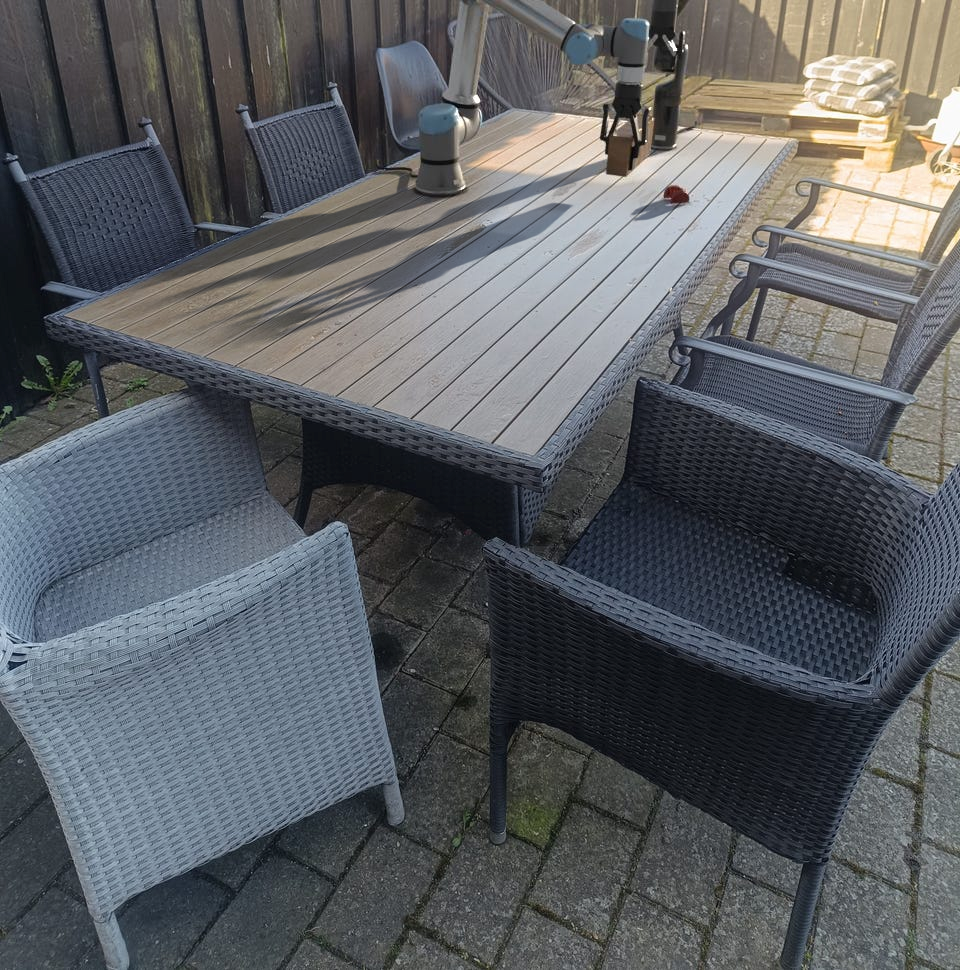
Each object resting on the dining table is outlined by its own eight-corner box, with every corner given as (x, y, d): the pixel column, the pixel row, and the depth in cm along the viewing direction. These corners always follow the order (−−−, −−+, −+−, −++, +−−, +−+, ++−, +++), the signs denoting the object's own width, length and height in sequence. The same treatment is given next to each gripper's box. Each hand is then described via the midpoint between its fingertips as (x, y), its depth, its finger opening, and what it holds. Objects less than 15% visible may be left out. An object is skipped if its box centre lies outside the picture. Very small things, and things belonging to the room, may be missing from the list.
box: (626, 177, 244) (630, 137, 238) (605, 174, 246) (609, 135, 240) (649, 154, 264) (654, 117, 258) (630, 152, 266) (634, 115, 260)
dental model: (680, 181, 250) (692, 189, 244) (678, 195, 253) (690, 203, 247) (662, 183, 249) (674, 191, 243) (661, 197, 252) (672, 206, 246)
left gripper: (666, 82, 234) (655, 168, 247) (600, 76, 240) (593, 160, 253) (660, 87, 228) (649, 175, 242) (592, 81, 234) (585, 166, 248)
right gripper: (690, 8, 254) (683, 67, 264) (644, 6, 259) (639, 64, 268) (685, 11, 249) (677, 71, 258) (638, 9, 253) (632, 68, 263)
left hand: (620, 167), depth 247 cm, fingers closed on box, 6 cm apart
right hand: (658, 67), depth 263 cm, fingers open, 8 cm apart
